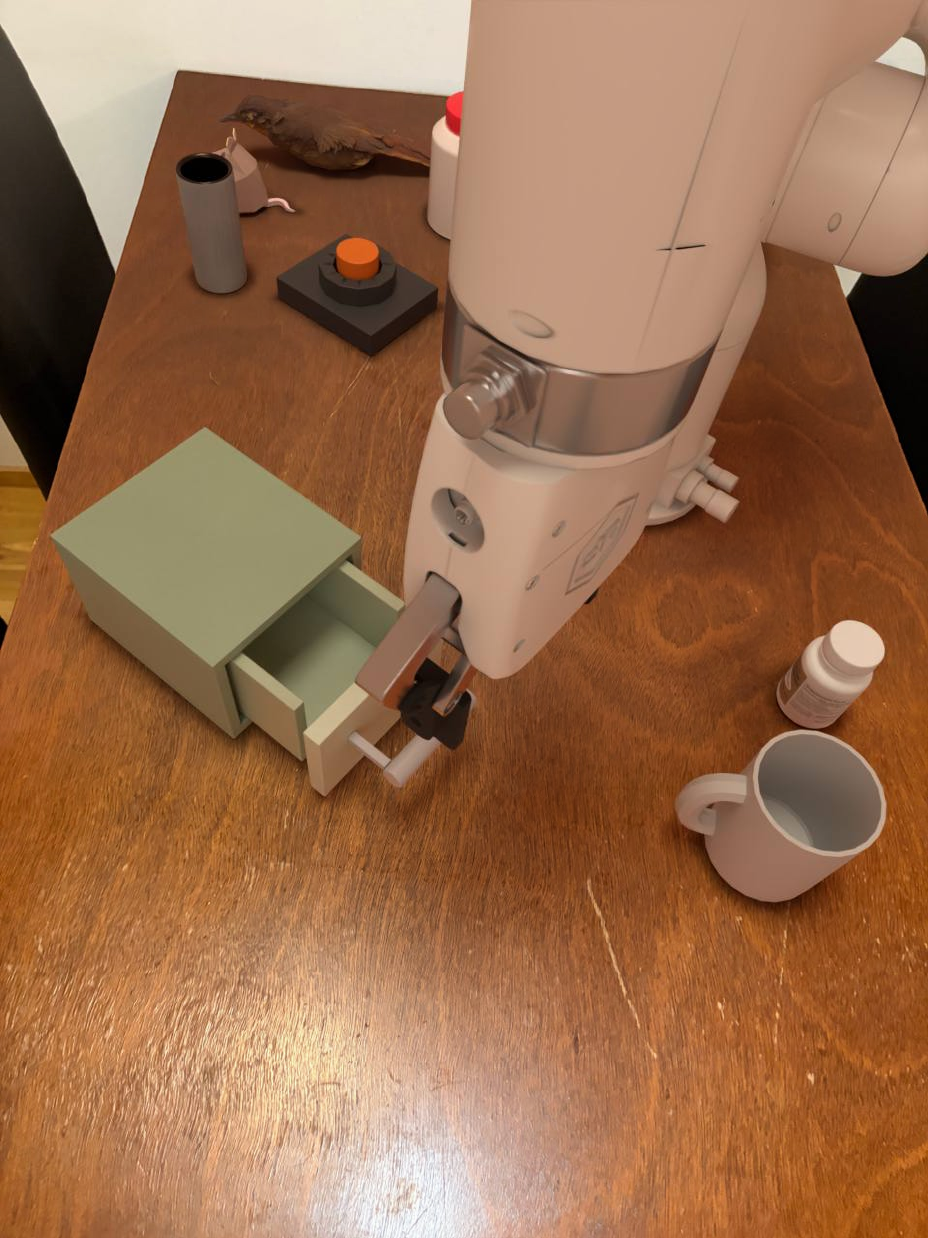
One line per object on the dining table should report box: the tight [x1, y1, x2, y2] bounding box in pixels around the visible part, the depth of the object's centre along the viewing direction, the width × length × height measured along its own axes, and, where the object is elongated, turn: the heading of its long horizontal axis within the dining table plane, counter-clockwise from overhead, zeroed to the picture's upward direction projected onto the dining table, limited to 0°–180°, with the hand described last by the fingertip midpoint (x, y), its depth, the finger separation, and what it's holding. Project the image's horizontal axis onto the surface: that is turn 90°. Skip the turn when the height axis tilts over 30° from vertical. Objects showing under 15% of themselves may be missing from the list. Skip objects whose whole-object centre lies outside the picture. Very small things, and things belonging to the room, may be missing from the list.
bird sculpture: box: [216, 94, 431, 171], centre depth 90 cm, size 7×25×5 cm, turn 92°
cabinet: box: [49, 426, 363, 740], centre depth 57 cm, size 14×12×9 cm
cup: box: [674, 729, 887, 903], centre depth 51 cm, size 7×10×9 cm
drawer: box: [225, 560, 479, 797], centre depth 54 cm, size 17×11×7 cm, turn 52°
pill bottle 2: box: [776, 619, 886, 729], centre depth 58 cm, size 4×4×8 cm
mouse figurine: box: [212, 127, 296, 215], centre depth 84 cm, size 5×8×7 cm, turn 80°
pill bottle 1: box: [426, 90, 464, 241], centre depth 84 cm, size 8×8×11 cm
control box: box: [275, 233, 439, 357], centre depth 78 cm, size 11×9×4 cm
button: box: [336, 237, 379, 280], centre depth 76 cm, size 4×4×2 cm
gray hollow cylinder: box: [174, 152, 248, 294], centre depth 76 cm, size 4×4×10 cm
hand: (500, 651), depth 39 cm, fingers open, 9 cm apart
